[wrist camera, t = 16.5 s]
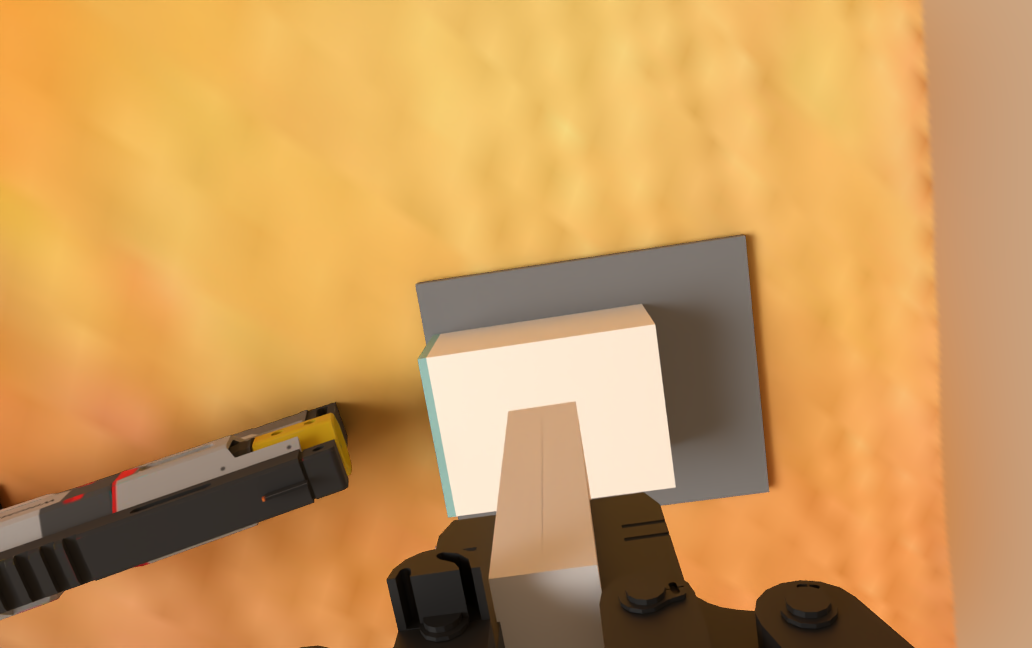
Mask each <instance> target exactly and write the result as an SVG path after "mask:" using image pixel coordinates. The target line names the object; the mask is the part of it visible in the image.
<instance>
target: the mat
mask: <svg viewBox="0 0 1032 648" xmlns="http://www.w3.org/2000/svg"><path fill="white" fill-rule="evenodd" d="M416 291H417V296H418V301H419V307H420V312H421V318H422V323H423V329H424V334H425V340H426V345H427V344H428V342H429V341H430V339H431V337H432V336H433V335H436V334H443V333H449V332H456V331H463V330H469V329H476V328H483V327H489V326H496V325H503V324H510V323H516V322H523V321H530V320H536V319H543V318H550V317H557V316H563V315H570V314H577V313H583V312H590V311H597V310H603V309H610V308H617V307H624V306H630V305H637V304H642V305H643V307H644V308H645V310H646V311H647V313H648V314H649V316H650V317H651V319H652V320H653V322H654V323H655V326H656V334H657V342H658V350H659V358H660V366H661V374H662V382H663V390H664V398H665V406H666V414H667V422H668V430H669V438H670V446H671V454H672V462H673V470H674V478H675V486H676V487H675V488H667V489H660V490H652V491H645V492H644V493H646V494H647V495H648V496H650V497H651V498H652V499H654V500H655V501H656V502H658V503H659V504H660V506H661V505H669V504H677V503H685V502H693V501H701V500H709V499H717V498H725V497H733V496H741V495H748V494H756V493H764V492H769V485H768V474H767V463H766V452H765V442H764V431H763V420H762V409H761V399H760V388H759V377H758V366H757V356H756V345H755V334H754V323H753V313H752V302H751V291H750V280H749V270H748V259H747V248H746V237H745V235H736V236H729V237H723V238H716V239H709V240H702V241H696V242H689V243H682V244H675V245H669V246H662V247H655V248H649V249H642V250H635V251H628V252H622V253H615V254H608V255H601V256H595V257H588V258H581V259H574V260H568V261H561V262H554V263H548V264H541V265H534V266H527V267H521V268H514V269H507V270H500V271H494V272H487V273H480V274H473V275H467V276H460V277H453V278H447V279H440V280H433V281H426V282H420V283H417V284H416ZM637 493H641V492H637ZM630 494H634V493H630ZM622 495H627V494H622ZM614 496H619V495H614ZM607 497H612V496H607ZM599 498H605V497H599ZM592 499H598V498H592ZM490 515H496V511H493V512H486V513H478V514H471V515H463V516H458V519H459V520H461V519H468V518H476V517H483V516H490Z"/></svg>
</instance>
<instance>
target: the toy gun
mask: <svg viewBox="0 0 1032 648" xmlns="http://www.w3.org/2000/svg"><path fill="white" fill-rule="evenodd" d="M351 472H352V465H351V460H350V457H349V453H348V449H347V434H346V431H345V428H344V425H343V422H342V419H341V417H340V414H339V411H338V408H337V405H336V402H335V403H331V404H328V405H325V406H322V407H319V408H316V409H313V410H310V411H307V410H305V411H302V412H300V413H299V414H296V415H293V416H289V417H286V418H283V419H281V420H278V421H275V422H272V423H269V424H266V425H263V426H260V427H258V428H255V429H253V428H252V429H249V430H246V431H243V432H240V433H237V434H234V435H230V436H227V437H224V438H221V439H218V440H215V441H212V442H209V443H206V444H203V445H200V446H197V447H194V448H191V449H188V450H185V451H182V452H179V453H176V454H173V455H170V456H167V457H164V458H162V459H159V460H156V461H153V462H150V463H147V464H144V465H141V466H138V467H135V468H132V469H129V470H126V471H123V472H121V473H118V474H115V475H112V476H109V477H106V478H103V479H100V480H97V481H94V482H91V483H89V484H86V485H83V486H80V487H76V488H73V489H70V490H67V491H64V492H61V493H57V494H47V495H44V496H41V497H38V498H35V499H32V500H29V501H26V502H23V503H20V504H17V505H14V506H11V507H8V508H5V509H3V508H2V506H1V504H0V620H2V619H5V618H7V617H10V616H13V615H16V614H19V613H21V612H24V611H27V610H30V609H32V608H35V607H38V606H41V605H44V604H46V603H49V602H52V601H54V600H57V599H58V598H59V597H60V596H61V595H62V593H63V592H64V591H65V590H68V589H71V588H74V587H77V586H80V585H82V584H85V583H88V582H90V581H93V580H99V579H102V578H105V577H108V576H110V575H113V574H116V573H119V572H122V571H124V570H127V569H130V568H133V567H138V566H144V565H147V564H150V563H153V562H156V561H158V560H161V559H164V558H167V557H170V556H172V555H175V554H178V553H181V552H183V551H186V550H189V549H192V548H195V547H197V546H200V545H203V544H206V543H209V542H211V541H214V540H217V539H220V538H222V537H225V536H228V535H231V534H234V533H236V532H239V531H242V530H245V529H247V528H250V527H253V526H256V525H258V523H259V522H261V521H264V520H266V519H269V518H272V517H275V516H278V515H280V514H283V513H286V512H289V511H292V510H294V509H297V508H300V507H303V506H305V505H308V504H311V503H314V499H315V498H317V499H319V498H322V497H325V496H328V495H330V494H333V493H336V492H339V491H342V490H344V489H346V488H347V487H348V475H351Z"/></svg>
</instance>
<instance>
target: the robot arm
mask: <svg viewBox="0 0 1032 648" xmlns="http://www.w3.org/2000/svg"><path fill="white" fill-rule="evenodd" d="M387 584H388V588H389V593H390V597H391V601H392V606H393V610H394V614H395V618H396V623H397V627H398V634H397V638H396V642H395V645H394V647H393V648H914V647H913V646H912V645H911V644H910V643H908V642H907V641H906V640H905V639H904V638H903V637H901V636H900V635H899V634H898V633H897V632H896V631H894V630H893V629H892V628H891V627H890V626H889V625H887V624H886V623H885V622H884V621H883V620H882V619H880V618H879V617H878V616H877V615H876V614H875V613H873V612H872V611H871V610H870V609H869V608H868V607H867V606H865V605H864V604H863V603H862V602H861V601H860V600H858V599H857V598H856V597H855V596H853V595H851V594H850V593H848V592H846V591H845V590H843V589H842V588H840V587H837V586H833V585H830V584H826V583H823V582H816V581H801V580H799V581H793V582H786V583H781V584H778V585H776V586H774V587H772V588H770V589H767V590H766V591H765V592H764V593H763V594H762V595H761V596H760V597H759V598H758V599H757V601H756V608H755V611H746V610H735V609H729V608H722V607H719V606H716V605H713V604H710V603H707V602H705V601H703V600H702V599H700V598H698V597H696V595H695V592H694V591H693V589H692V588H691V586H690V585H689V583H688V582H686V581H684V578H683V575H682V572H681V569H680V565H679V562H678V559H677V556H676V553H675V550H674V547H673V544H672V541H671V538H670V535H669V531H668V528H667V525H666V522H665V519H664V516H663V513H662V510H661V506H660V504H659V503H658V502H656V501H655V500H654V499H652V498H651V497H650V496H648V495H647V494H646V493H644V492H641V493H634V494H627V495H619V496H612V497H605V498H598V499H591V495H590V488H589V482H588V476H587V469H586V463H585V457H584V450H583V444H582V438H581V431H580V425H579V419H578V412H577V406H576V401H574V402H567V403H560V404H554V405H547V406H540V407H533V408H526V409H520V410H513V411H508V417H507V426H506V434H505V443H504V451H503V460H502V468H501V477H500V485H499V494H498V502H497V511H496V515H490V516H483V517H476V518H468V519H461V520H454V521H453V522H452V523H451V524H450V525H449V526H448V527H447V528H446V529H445V530H444V532H443V533H442V534H441V535H440V536H439V539H438V543H437V547H436V549H434V550H430V551H426V552H422V553H419V554H417V555H415V556H413V557H411V558H408V559H406V560H405V561H403V562H402V563H401V564H399V565H398V566H397V567H395V568H394V569H393V570H392V572H391V573H390V575H389V577H388V578H387ZM301 648H327V647H322V646H310V647H301Z"/></svg>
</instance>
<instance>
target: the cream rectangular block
mask: <svg viewBox="0 0 1032 648" xmlns="http://www.w3.org/2000/svg"><path fill="white" fill-rule="evenodd" d="M418 364H419V369H420V374H421V379H422V384H423V390H424V395H425V400H426V405H427V410H428V416H429V421H430V426H431V431H432V436H433V442H434V447H435V452H436V457H437V462H438V468H439V473H440V478H441V483H442V488H443V494H444V499H445V504H446V509H447V514H448V517H455V516H463V515H471V514H478V513H486V512H493V511H497V502H498V494H499V485H500V477H501V468H502V460H503V451H504V443H505V434H506V426H507V417H508V411H513V410H520V409H526V408H533V407H540V406H547V405H554V404H560V403H567V402H574V401H576V406H577V412H578V419H579V425H580V431H581V438H582V444H583V450H584V457H585V463H586V469H587V476H588V482H589V488H590V495H591V499H592V498H599V497H607V496H614V495H622V494H630V493H637V492H645V491H652V490H660V489H667V488H675V487H676V486H675V478H674V470H673V462H672V454H671V446H670V438H669V430H668V422H667V414H666V406H665V398H664V390H663V382H662V374H661V366H660V358H659V350H658V342H657V334H656V326H655V323H654V322H653V320H652V319H651V317H650V316H649V314H648V313H647V311H646V310H645V308H644V307H643V305H642V304H637V305H630V306H624V307H617V308H610V309H603V310H597V311H590V312H583V313H577V314H570V315H563V316H557V317H550V318H543V319H536V320H530V321H523V322H516V323H510V324H503V325H496V326H489V327H483V328H476V329H469V330H463V331H456V332H449V333H443V334H436V335H433V336H432V337H431V339H430V341H429V342H428V344H427V345H426V347H425V348H424V350H423V352H422V353H421V355H420V356H419V358H418Z"/></svg>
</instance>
